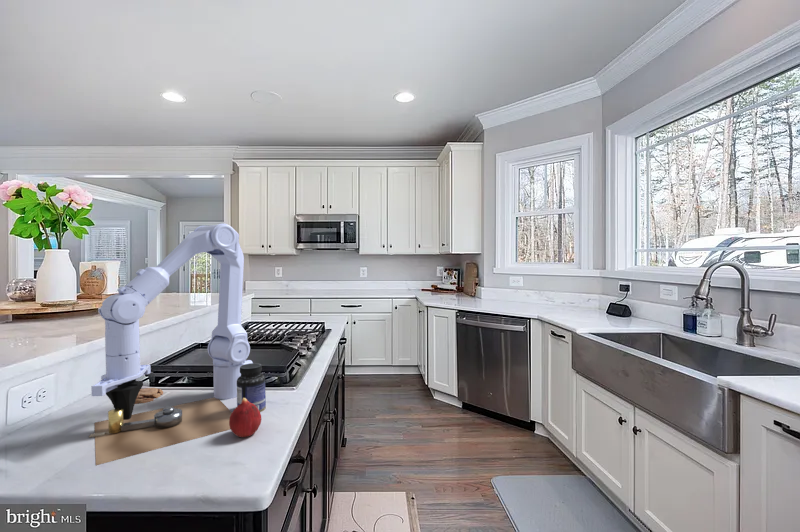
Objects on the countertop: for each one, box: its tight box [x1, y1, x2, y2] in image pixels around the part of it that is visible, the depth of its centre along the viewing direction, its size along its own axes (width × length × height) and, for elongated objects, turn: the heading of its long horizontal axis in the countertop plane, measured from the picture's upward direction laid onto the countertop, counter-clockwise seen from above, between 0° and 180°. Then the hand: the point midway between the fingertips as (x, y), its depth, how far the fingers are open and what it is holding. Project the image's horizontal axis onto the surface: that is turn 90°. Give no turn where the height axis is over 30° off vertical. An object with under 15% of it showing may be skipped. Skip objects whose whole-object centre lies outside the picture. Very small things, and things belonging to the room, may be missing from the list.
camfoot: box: [107, 406, 182, 433], centre depth 79 cm, size 13×5×4 cm, turn 114°
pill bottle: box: [236, 362, 267, 413], centre depth 88 cm, size 6×6×11 cm
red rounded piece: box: [229, 398, 262, 438], centre depth 75 cm, size 6×6×8 cm
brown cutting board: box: [88, 396, 233, 466], centre depth 80 cm, size 25×22×1 cm
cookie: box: [134, 387, 164, 405], centre depth 96 cm, size 10×11×3 cm
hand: (124, 419), depth 79 cm, fingers closed
